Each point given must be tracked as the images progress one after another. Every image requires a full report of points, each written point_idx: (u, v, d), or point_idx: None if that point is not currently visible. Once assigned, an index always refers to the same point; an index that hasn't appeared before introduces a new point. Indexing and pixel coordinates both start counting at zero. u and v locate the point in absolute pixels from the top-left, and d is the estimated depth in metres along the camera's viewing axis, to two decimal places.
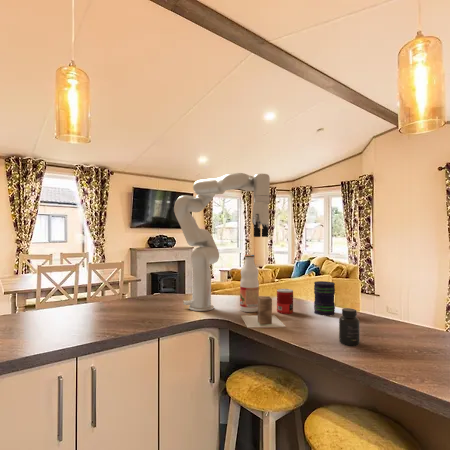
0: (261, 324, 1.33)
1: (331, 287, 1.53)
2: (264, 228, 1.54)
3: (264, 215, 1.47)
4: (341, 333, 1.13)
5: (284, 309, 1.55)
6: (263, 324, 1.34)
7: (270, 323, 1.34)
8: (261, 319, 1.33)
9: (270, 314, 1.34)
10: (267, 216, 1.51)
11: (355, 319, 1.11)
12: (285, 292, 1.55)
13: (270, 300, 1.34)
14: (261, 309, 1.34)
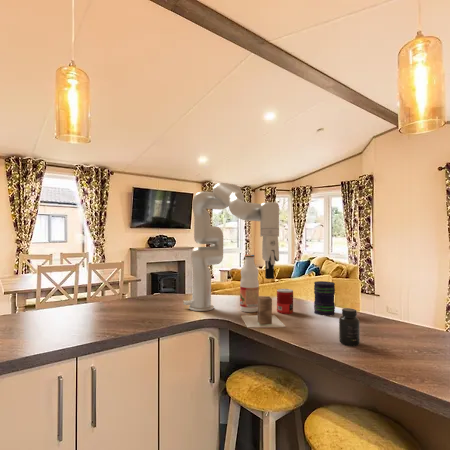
0: (261, 324, 1.33)
1: (331, 287, 1.53)
2: None
3: (262, 250, 1.31)
4: (341, 333, 1.13)
5: (284, 309, 1.55)
6: (263, 324, 1.34)
7: (270, 323, 1.34)
8: (261, 319, 1.33)
9: (270, 314, 1.34)
10: (265, 251, 1.27)
11: (355, 319, 1.11)
12: (285, 292, 1.55)
13: (270, 300, 1.34)
14: (261, 309, 1.34)
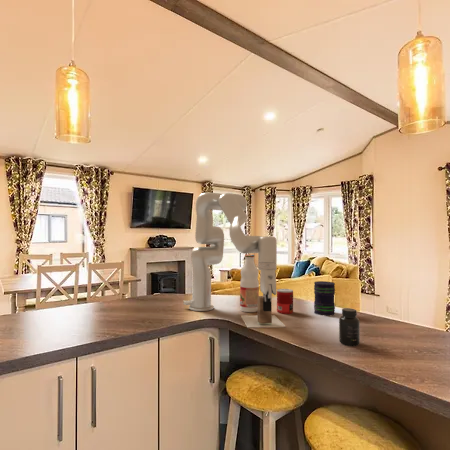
0: (261, 323, 1.34)
1: (331, 287, 1.53)
2: None
3: (260, 283, 1.34)
4: (341, 333, 1.13)
5: (284, 309, 1.55)
6: (263, 323, 1.34)
7: (270, 322, 1.34)
8: (261, 318, 1.34)
9: (270, 313, 1.34)
10: (262, 285, 1.30)
11: (355, 319, 1.11)
12: (285, 292, 1.55)
13: None
14: (261, 308, 1.34)
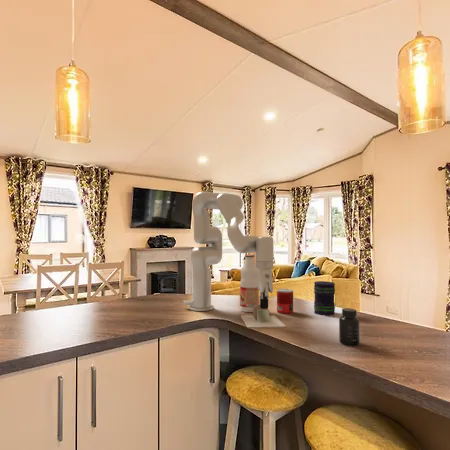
0: (258, 310, 1.39)
1: (331, 287, 1.53)
2: None
3: None
4: (341, 333, 1.13)
5: (284, 309, 1.55)
6: (260, 310, 1.39)
7: (267, 310, 1.40)
8: (257, 309, 1.41)
9: None
10: (259, 283, 1.35)
11: (355, 319, 1.11)
12: (285, 292, 1.55)
13: None
14: (256, 307, 1.45)
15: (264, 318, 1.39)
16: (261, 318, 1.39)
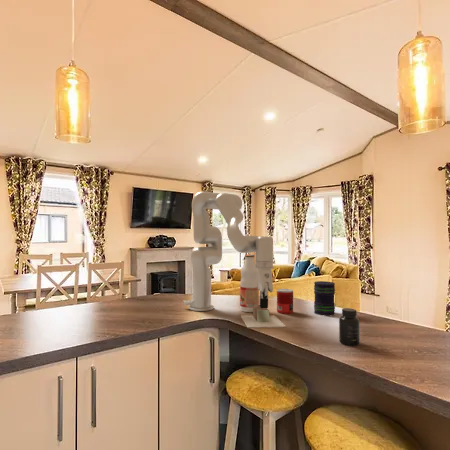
0: (258, 310, 1.39)
1: (331, 287, 1.53)
2: None
3: (257, 281, 1.40)
4: (341, 333, 1.13)
5: (284, 309, 1.55)
6: (260, 310, 1.39)
7: (267, 310, 1.40)
8: (257, 309, 1.41)
9: (265, 308, 1.43)
10: (259, 283, 1.36)
11: (355, 319, 1.11)
12: (285, 292, 1.55)
13: None
14: (256, 307, 1.45)
15: (264, 318, 1.39)
16: (261, 318, 1.39)
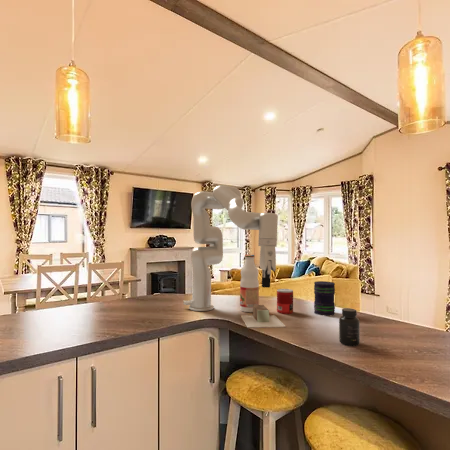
0: (258, 310, 1.39)
1: (331, 287, 1.53)
2: None
3: (260, 259, 1.34)
4: (341, 333, 1.13)
5: (284, 309, 1.55)
6: (260, 310, 1.39)
7: (267, 310, 1.40)
8: (257, 309, 1.41)
9: (265, 308, 1.43)
10: (262, 261, 1.30)
11: (355, 319, 1.11)
12: (285, 292, 1.55)
13: (262, 305, 1.49)
14: (256, 307, 1.45)
15: (264, 318, 1.39)
16: (261, 318, 1.39)
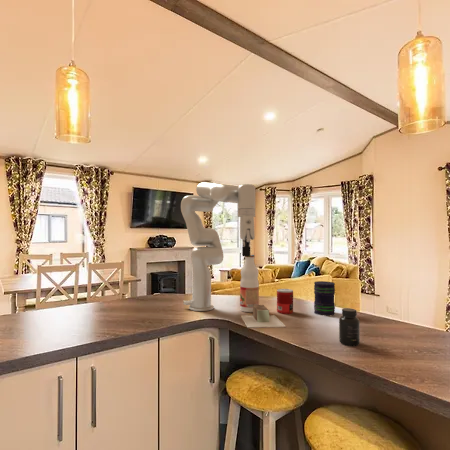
0: (258, 310, 1.39)
1: (331, 287, 1.53)
2: None
3: (240, 230, 1.40)
4: (341, 333, 1.13)
5: (284, 309, 1.55)
6: (260, 310, 1.39)
7: (267, 310, 1.40)
8: (257, 309, 1.41)
9: (265, 308, 1.43)
10: (241, 230, 1.35)
11: (355, 319, 1.11)
12: (285, 292, 1.55)
13: (262, 305, 1.49)
14: (256, 307, 1.45)
15: (264, 318, 1.39)
16: (261, 318, 1.39)
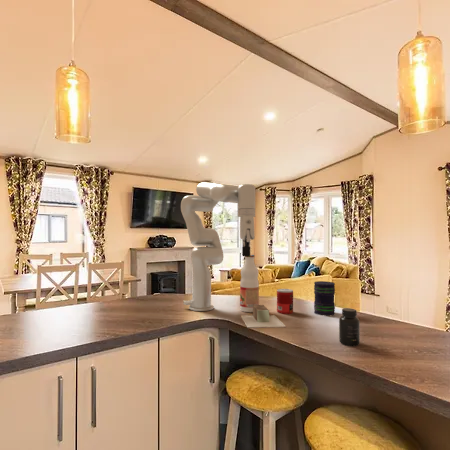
0: (258, 310, 1.39)
1: (331, 287, 1.53)
2: None
3: (240, 230, 1.40)
4: (341, 333, 1.13)
5: (284, 309, 1.55)
6: (260, 310, 1.39)
7: (267, 310, 1.40)
8: (257, 309, 1.41)
9: (265, 308, 1.43)
10: (241, 230, 1.35)
11: (355, 319, 1.11)
12: (285, 292, 1.55)
13: (262, 305, 1.49)
14: (256, 307, 1.45)
15: (264, 318, 1.39)
16: (261, 318, 1.39)
